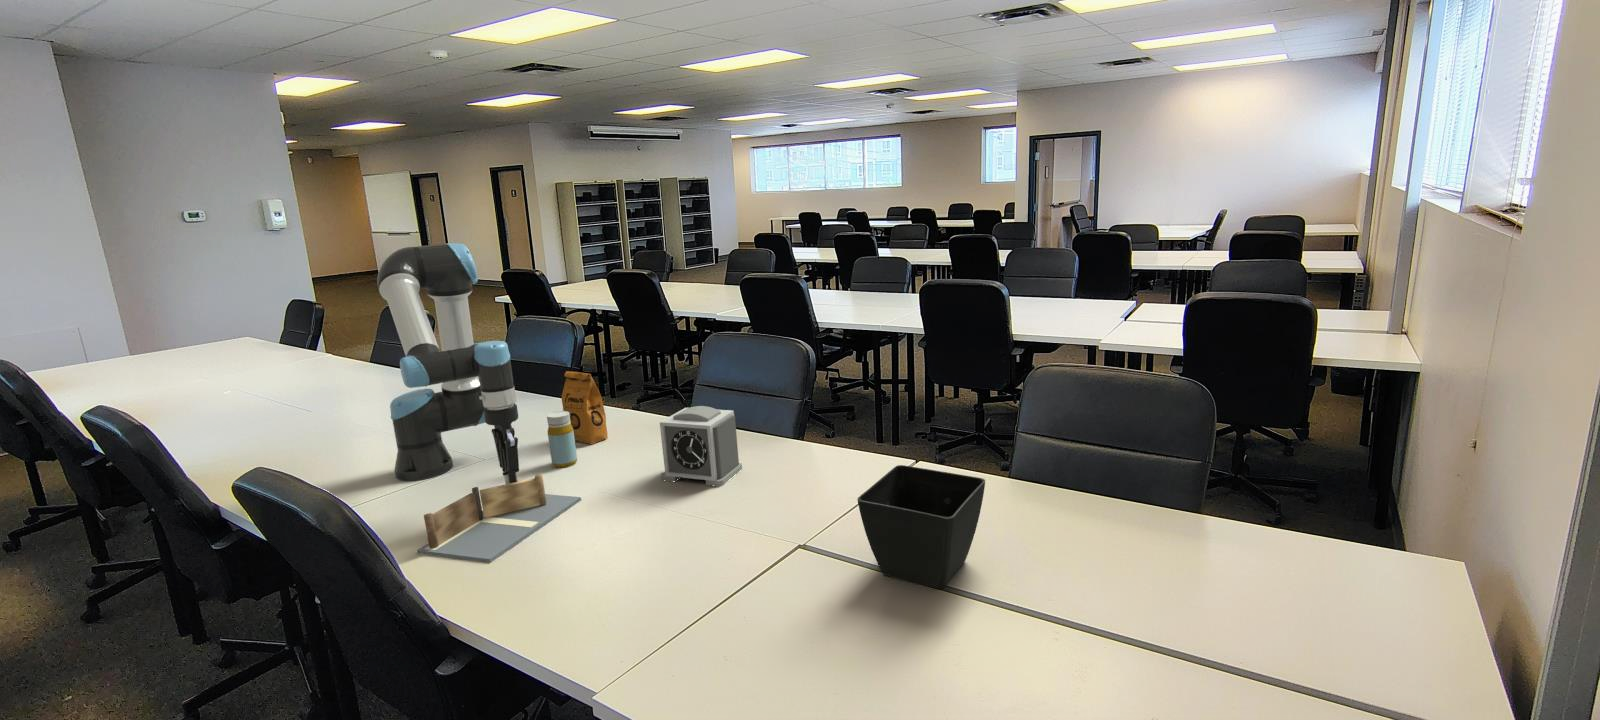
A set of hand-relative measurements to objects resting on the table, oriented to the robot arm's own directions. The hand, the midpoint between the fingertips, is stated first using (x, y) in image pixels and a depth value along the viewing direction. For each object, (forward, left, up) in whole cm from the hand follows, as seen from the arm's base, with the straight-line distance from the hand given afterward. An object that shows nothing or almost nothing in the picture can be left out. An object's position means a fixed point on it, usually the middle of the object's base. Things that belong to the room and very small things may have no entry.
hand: (513, 497), depth 186 cm
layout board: (+7, -5, -3) cm, 9 cm away
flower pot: (+94, +43, -4) cm, 103 cm away
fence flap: (+3, -1, -2) cm, 4 cm away
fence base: (+4, -15, -3) cm, 16 cm away
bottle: (-21, +23, -4) cm, 32 cm away
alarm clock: (+18, +44, -4) cm, 48 cm away
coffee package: (-36, +38, -4) cm, 53 cm away
